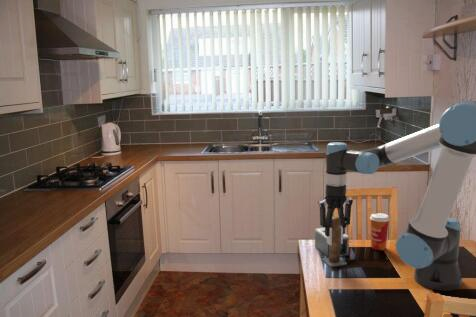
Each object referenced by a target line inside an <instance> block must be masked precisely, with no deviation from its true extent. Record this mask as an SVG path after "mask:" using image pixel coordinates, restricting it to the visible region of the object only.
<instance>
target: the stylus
mask: <svg viewBox="0 0 476 317" xmlns="http://www.w3.org/2000/svg"><path fill="white" fill-rule="evenodd" d="M340 222H341V218H339V216H332V221H331V226H330V228H332V245H329V261H330V262H334V263H336V262H339V261H340V258H341V256H340Z"/></svg>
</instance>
